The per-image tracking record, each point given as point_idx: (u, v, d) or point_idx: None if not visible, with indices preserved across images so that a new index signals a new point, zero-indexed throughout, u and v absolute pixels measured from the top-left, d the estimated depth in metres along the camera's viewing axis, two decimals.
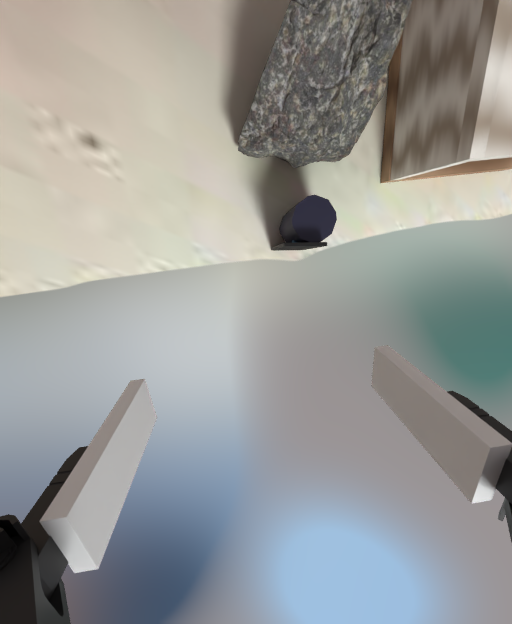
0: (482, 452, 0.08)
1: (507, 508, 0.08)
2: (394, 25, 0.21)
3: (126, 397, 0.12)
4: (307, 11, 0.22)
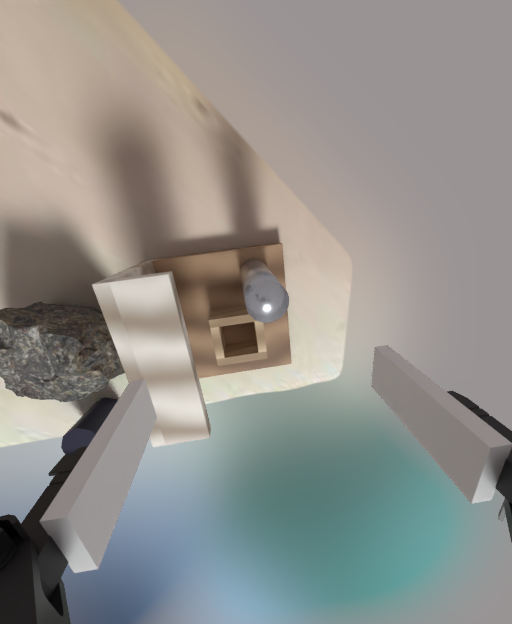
0: (482, 452, 0.08)
1: (507, 508, 0.08)
2: (62, 366, 0.27)
3: (126, 397, 0.12)
4: None
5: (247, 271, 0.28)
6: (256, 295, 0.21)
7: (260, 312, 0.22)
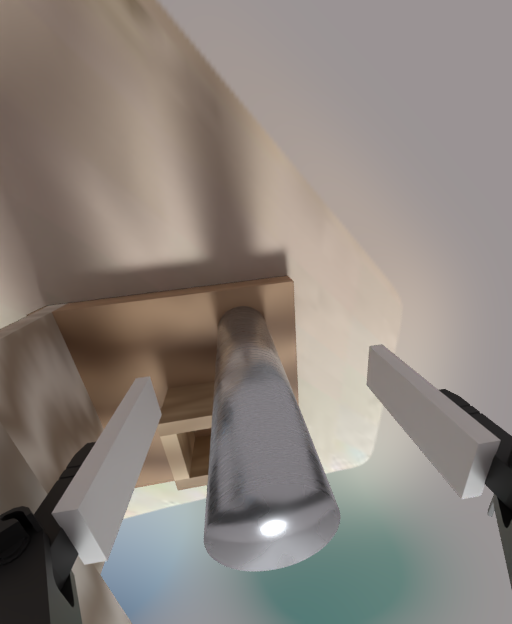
0: (471, 448, 0.08)
1: (496, 504, 0.08)
2: None
3: (132, 394, 0.12)
4: None
5: (225, 357, 0.13)
6: (238, 522, 0.07)
7: (250, 554, 0.07)
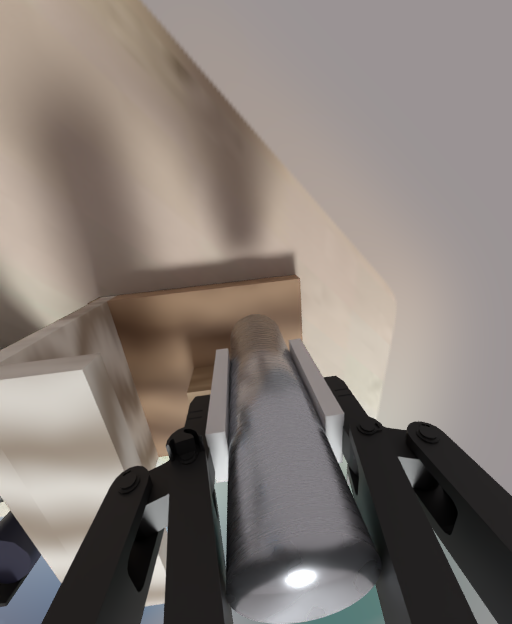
0: (323, 421, 0.10)
1: (349, 475, 0.09)
2: None
3: (220, 360, 0.14)
4: None
5: (241, 371, 0.12)
6: (266, 573, 0.06)
7: (277, 607, 0.06)
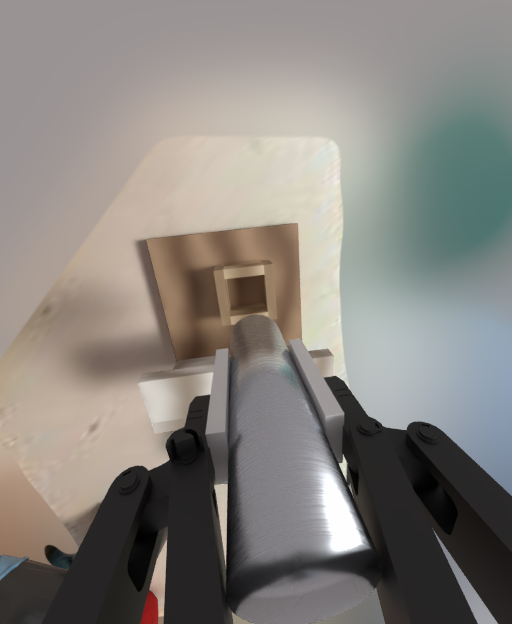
0: (324, 421, 0.10)
1: (349, 475, 0.09)
2: None
3: (220, 360, 0.14)
4: None
5: (241, 371, 0.12)
6: (267, 576, 0.06)
7: (278, 610, 0.06)
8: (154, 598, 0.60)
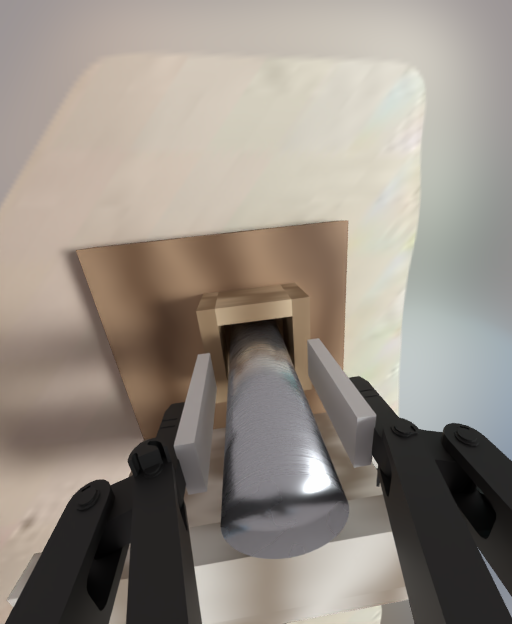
0: (354, 422, 0.09)
1: (380, 476, 0.09)
2: None
3: (200, 366, 0.13)
4: None
5: (239, 357, 0.14)
6: (253, 509, 0.07)
7: (263, 542, 0.08)
8: None
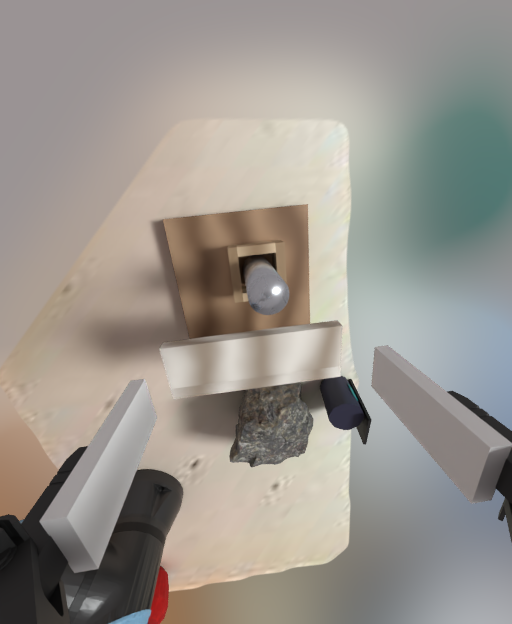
0: (482, 452, 0.08)
1: (507, 508, 0.08)
2: (265, 436, 0.35)
3: (126, 397, 0.12)
4: (255, 461, 0.39)
5: (250, 266, 0.29)
6: (258, 288, 0.22)
7: (261, 305, 0.23)
8: (164, 572, 0.62)
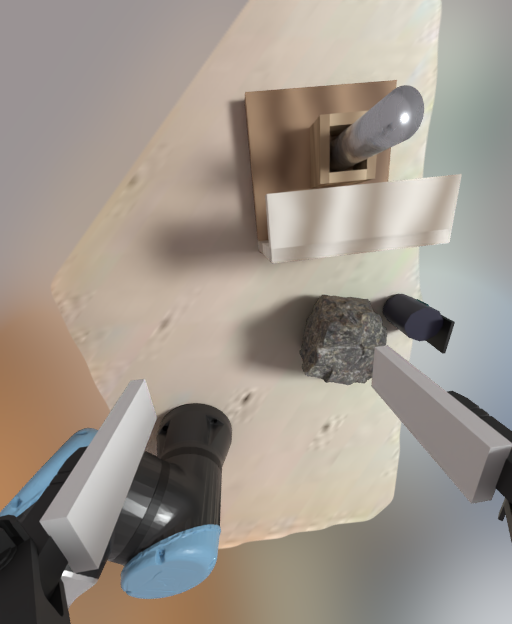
0: (482, 452, 0.08)
1: (507, 508, 0.08)
2: (352, 335, 0.33)
3: (126, 397, 0.12)
4: (331, 374, 0.37)
5: (350, 125, 0.27)
6: (392, 103, 0.20)
7: (392, 128, 0.21)
8: None
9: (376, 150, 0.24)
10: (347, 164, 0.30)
